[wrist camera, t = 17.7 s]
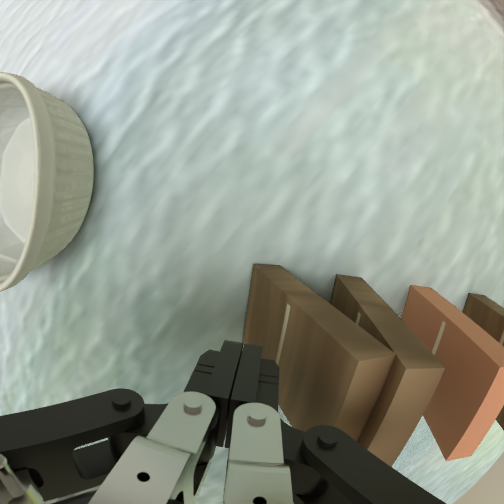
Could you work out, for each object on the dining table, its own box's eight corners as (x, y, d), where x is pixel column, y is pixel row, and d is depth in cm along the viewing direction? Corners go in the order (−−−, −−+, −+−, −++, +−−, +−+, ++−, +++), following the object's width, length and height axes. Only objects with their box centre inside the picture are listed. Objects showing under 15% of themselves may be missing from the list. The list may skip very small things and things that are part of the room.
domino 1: (242, 341, 19) (316, 465, 9) (253, 264, 18) (358, 361, 8) (266, 340, 19) (351, 455, 10) (279, 265, 18) (396, 354, 9)
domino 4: (446, 357, 18) (513, 444, 9) (468, 293, 17) (561, 361, 8) (461, 357, 18) (530, 438, 9) (484, 295, 17) (574, 359, 7)
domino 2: (318, 348, 19) (355, 470, 9) (336, 274, 18) (405, 368, 8) (342, 350, 19) (391, 467, 9) (361, 277, 18) (445, 368, 8)
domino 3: (389, 354, 19) (445, 461, 9) (410, 285, 18) (499, 367, 8) (409, 355, 19) (471, 455, 9) (431, 287, 17) (524, 365, 8)
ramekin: (95, 291, 20) (32, 331, 13) (-11, 240, 20) (-68, 257, 13) (134, 97, 17) (69, 65, 10) (13, 91, 17) (-46, 79, 10)
